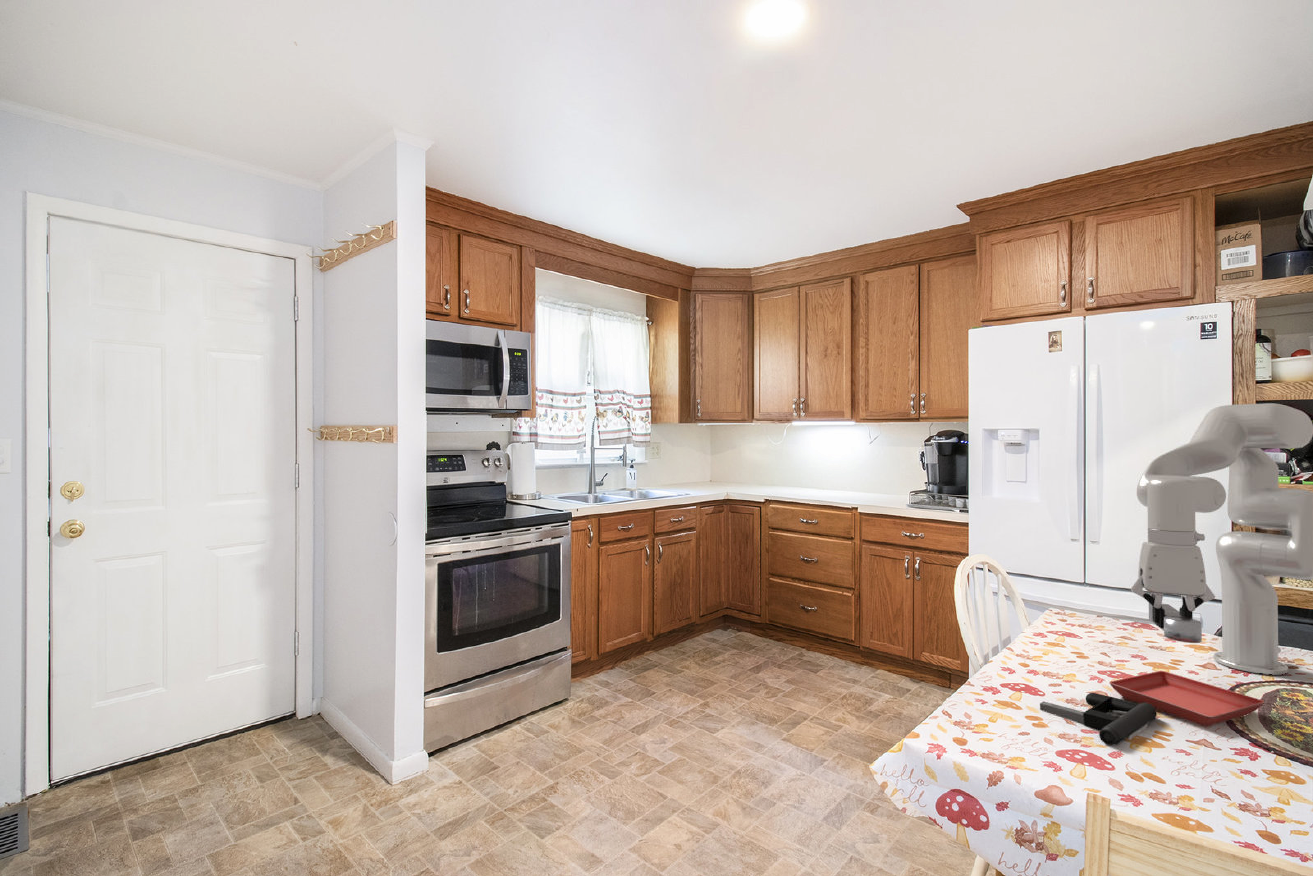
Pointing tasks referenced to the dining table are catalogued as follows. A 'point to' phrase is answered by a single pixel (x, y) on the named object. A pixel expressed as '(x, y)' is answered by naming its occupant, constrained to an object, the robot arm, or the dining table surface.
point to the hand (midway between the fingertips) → (1172, 626)
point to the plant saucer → (1186, 697)
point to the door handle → (1108, 716)
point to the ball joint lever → (1179, 625)
